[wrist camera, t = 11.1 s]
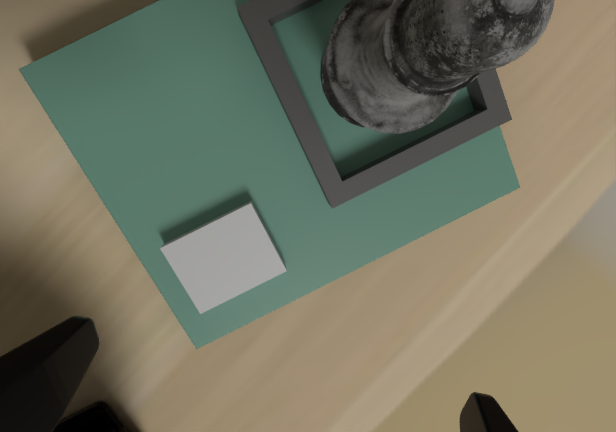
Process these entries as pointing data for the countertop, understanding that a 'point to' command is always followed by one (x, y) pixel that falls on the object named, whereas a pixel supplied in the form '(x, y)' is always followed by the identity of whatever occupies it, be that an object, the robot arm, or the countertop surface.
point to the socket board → (255, 154)
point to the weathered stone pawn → (420, 55)
